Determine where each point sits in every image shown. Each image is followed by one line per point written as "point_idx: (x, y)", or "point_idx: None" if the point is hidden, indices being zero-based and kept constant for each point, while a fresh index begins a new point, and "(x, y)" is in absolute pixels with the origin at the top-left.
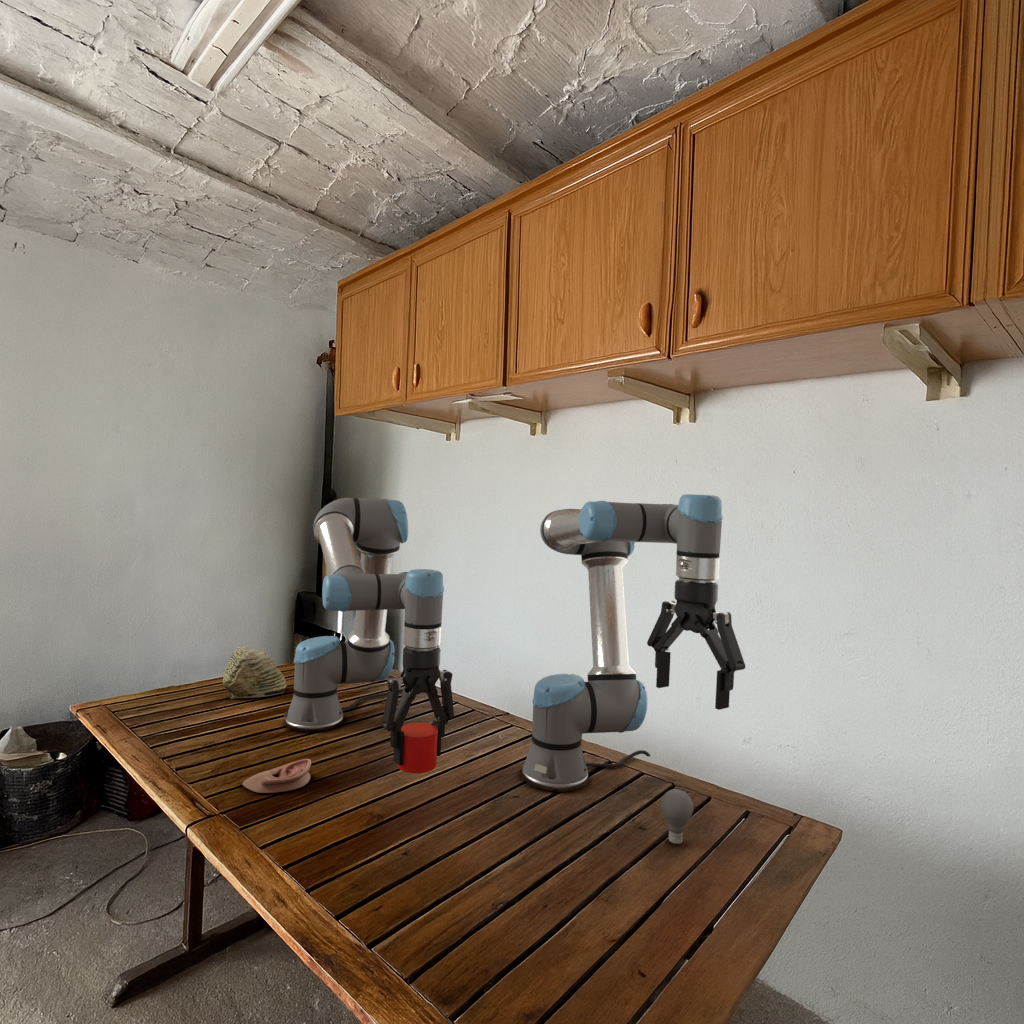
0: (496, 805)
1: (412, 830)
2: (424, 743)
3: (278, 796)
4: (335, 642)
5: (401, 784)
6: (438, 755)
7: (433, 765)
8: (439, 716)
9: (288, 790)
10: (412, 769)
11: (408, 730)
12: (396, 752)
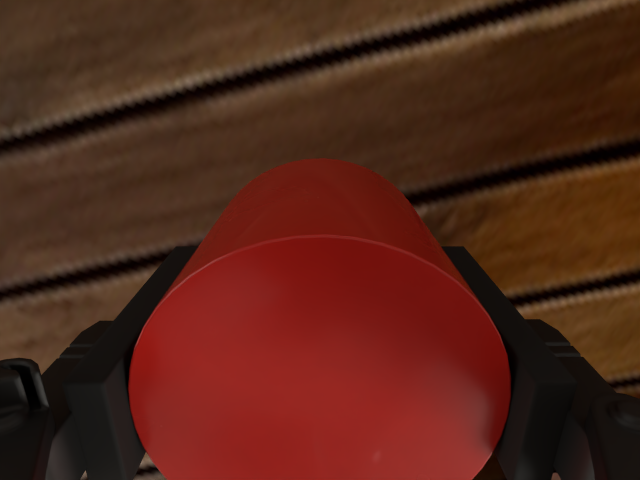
0: (18, 85)
1: (386, 90)
2: (351, 214)
3: None
4: None
5: None
6: (189, 248)
7: (262, 177)
8: (34, 473)
9: None
10: (399, 192)
11: (414, 433)
12: None
